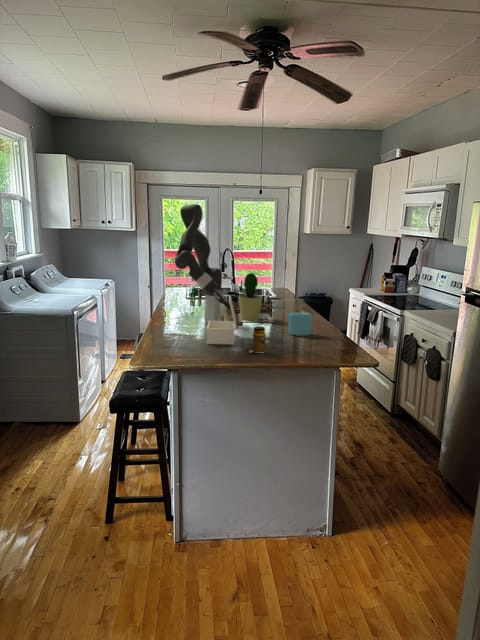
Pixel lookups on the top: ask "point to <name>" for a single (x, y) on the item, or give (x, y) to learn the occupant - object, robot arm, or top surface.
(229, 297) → the lid
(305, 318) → the data package
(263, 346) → the condiment
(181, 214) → the robot arm
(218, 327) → the box
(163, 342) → the top surface
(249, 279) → the potted cactus
